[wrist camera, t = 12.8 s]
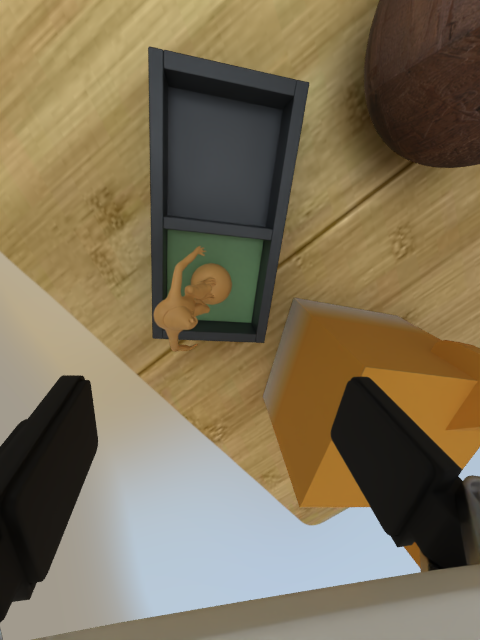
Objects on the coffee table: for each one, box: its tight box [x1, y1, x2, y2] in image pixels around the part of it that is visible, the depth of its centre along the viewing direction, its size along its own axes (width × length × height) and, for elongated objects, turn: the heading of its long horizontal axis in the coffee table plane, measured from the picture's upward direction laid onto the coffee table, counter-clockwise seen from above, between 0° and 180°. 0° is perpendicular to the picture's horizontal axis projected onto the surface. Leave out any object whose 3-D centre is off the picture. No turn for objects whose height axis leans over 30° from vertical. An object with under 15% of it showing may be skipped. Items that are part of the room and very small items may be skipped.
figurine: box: [154, 246, 232, 351], centre depth 21 cm, size 8×6×12 cm
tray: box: [148, 47, 309, 343], centre depth 24 cm, size 12×22×4 cm, turn 173°
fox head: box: [263, 298, 480, 568], centre depth 26 cm, size 18×21×20 cm
